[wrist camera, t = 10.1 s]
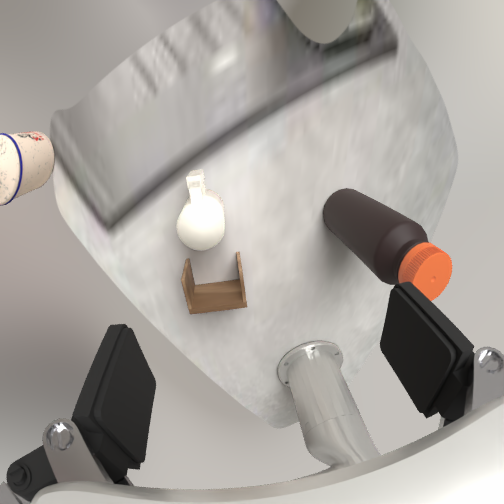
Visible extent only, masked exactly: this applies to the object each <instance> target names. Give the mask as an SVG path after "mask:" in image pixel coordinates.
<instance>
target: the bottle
mask: <svg viewBox="0 0 504 504" xmlns="http://www.w3.org/2000/svg"><path fill="white" fill-rule="evenodd" d="M323 214H324V221H325V223H326V225H327V227H328V228H329V229H330V230H331V231H332V232H333V233H334V234H335V235H336V236H337V237H338V238H339V239H340V240H341V241H342V242H343V243H344V244H345V245H346V246H347V247H348V248H349V249H350V250H352V251H353V252H354V253H355V254H356V255H357V256H358V257H359V258H360V259H361V260H362V262H363V263H364V264H365V265H366V266H367V267H368V268H369V269H370V270H371V271H372V272H373V273H374V274H375V275H376V276H377V277H378V278H379V279H380V280H381V281H382V282H385V283H387V284H390V285H396V284H399V283H403V282H408V281H409V282H411V283H412V284H413V285H414V286H416V287H417V288H418V289H419V290H420V291H421V292H422V293H423V294H424V295H425V296H426V297H427V298H428V299H429V300H430V301H432V300H434V299H435V298H436V297H438V296H439V295H440V294H441V293H442V291H443V290H444V289H445V287H446V286H447V284H448V282H449V279H450V277H451V273H452V262H451V260H450V259H451V258H450V257H449V255H448V254H447V253H445V252H444V251H442V250H441V249H439V248H438V247H436V246H434V245H433V244H431V243H429V242H428V239H427V234H426V233H425V231H424V229H423V228H422V226H421V225H419V224H418V223H416V222H415V221H413V220H411V219H409V218H407V217H406V216H404V215H402V214H400V213H398V212H397V211H395V210H393V209H391V208H389V207H387V206H385V205H383V204H382V203H380V202H378V201H376V200H374V199H372V198H370V197H368V196H366V195H364V194H362V193H360V192H358V191H356V190H354V189H347V188H346V189H341V190H338V191H336V192H335V193H333V194H332V195H331V196H330V197H329V198H328V200H327V202H326V204H325V206H324V212H323Z"/></svg>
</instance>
